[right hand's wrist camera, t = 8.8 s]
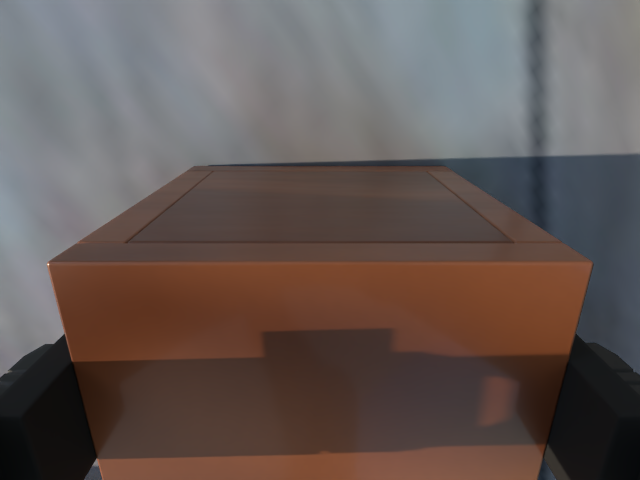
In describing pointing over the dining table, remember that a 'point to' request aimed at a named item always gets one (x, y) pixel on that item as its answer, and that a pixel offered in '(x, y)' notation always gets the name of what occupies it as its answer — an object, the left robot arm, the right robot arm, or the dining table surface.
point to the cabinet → (320, 328)
